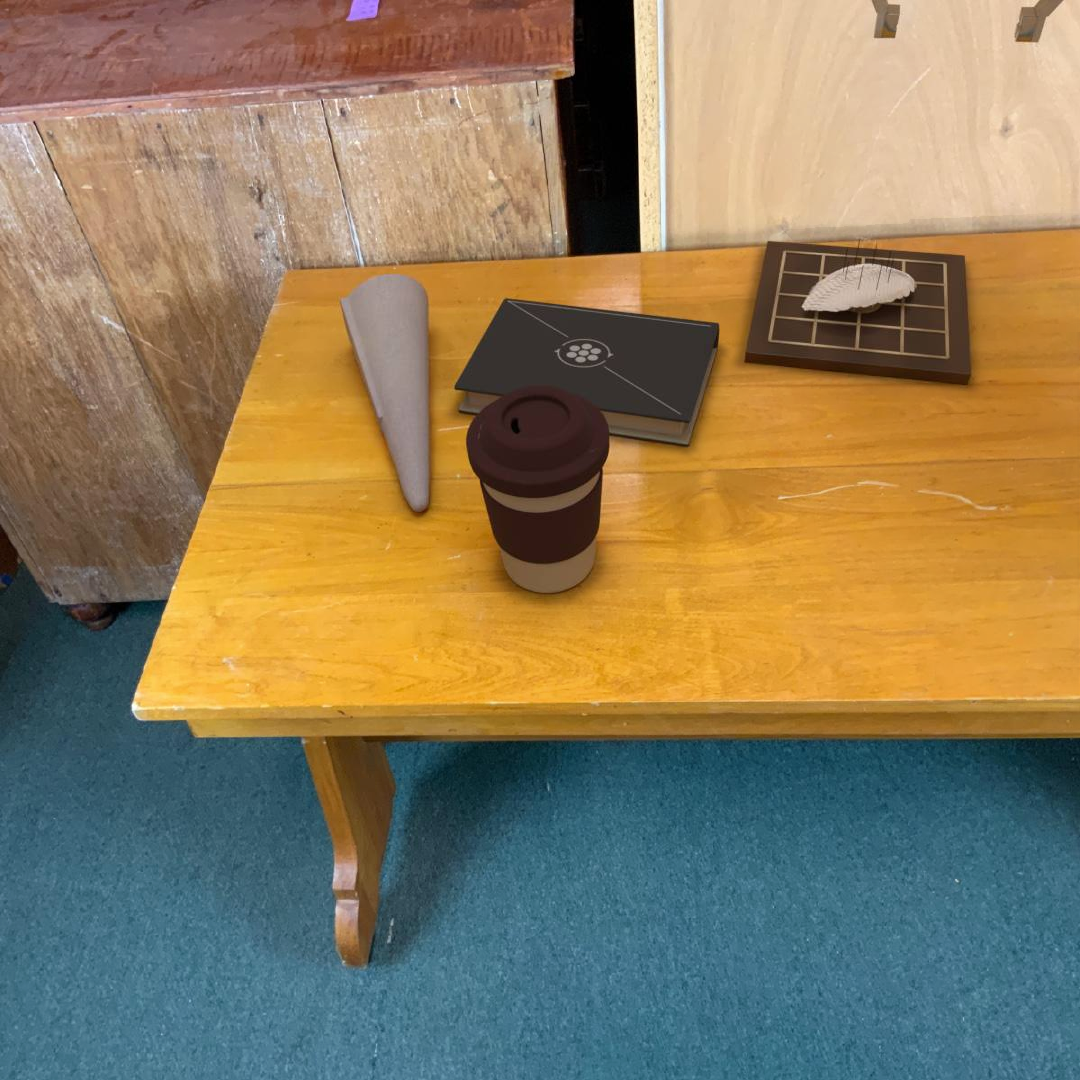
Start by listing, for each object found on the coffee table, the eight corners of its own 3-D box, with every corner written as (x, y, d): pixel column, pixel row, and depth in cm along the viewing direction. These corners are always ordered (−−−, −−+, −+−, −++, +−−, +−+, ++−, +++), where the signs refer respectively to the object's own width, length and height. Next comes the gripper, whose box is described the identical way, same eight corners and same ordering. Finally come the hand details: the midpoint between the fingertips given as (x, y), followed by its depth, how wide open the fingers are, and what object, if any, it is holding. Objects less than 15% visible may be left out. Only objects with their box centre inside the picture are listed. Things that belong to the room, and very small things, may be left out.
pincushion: (816, 331, 91) (825, 279, 87) (788, 297, 95) (795, 246, 91) (930, 304, 93) (944, 252, 89) (898, 272, 97) (910, 221, 93)
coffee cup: (631, 535, 77) (631, 388, 66) (580, 626, 71) (570, 481, 60) (522, 502, 80) (504, 357, 69) (464, 586, 75) (435, 442, 63)
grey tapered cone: (505, 455, 78) (423, 265, 92) (402, 483, 76) (335, 284, 91) (509, 514, 84) (431, 327, 98) (413, 540, 82) (349, 346, 97)
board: (961, 265, 99) (965, 253, 98) (967, 384, 86) (971, 373, 86) (766, 250, 104) (767, 239, 103) (744, 362, 91) (745, 350, 90)
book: (718, 347, 93) (720, 321, 91) (688, 447, 83) (690, 421, 81) (507, 321, 98) (505, 296, 96) (457, 412, 89) (453, 387, 87)
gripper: (829, -190, 58) (799, 50, 68) (1209, -200, 53) (1115, 60, 63) (835, -213, 62) (806, 17, 72) (1189, -224, 57) (1104, 24, 67)
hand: (953, 37), depth 68 cm, fingers open, 8 cm apart
